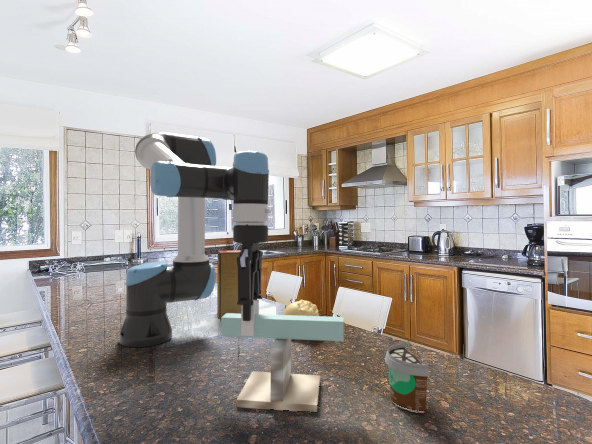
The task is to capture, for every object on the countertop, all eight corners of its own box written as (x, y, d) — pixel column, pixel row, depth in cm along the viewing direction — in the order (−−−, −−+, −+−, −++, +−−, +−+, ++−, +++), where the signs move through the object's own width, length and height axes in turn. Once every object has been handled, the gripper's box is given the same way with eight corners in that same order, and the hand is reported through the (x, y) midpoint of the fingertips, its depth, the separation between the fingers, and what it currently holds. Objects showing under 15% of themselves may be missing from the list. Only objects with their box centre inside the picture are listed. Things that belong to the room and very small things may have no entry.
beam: (221, 336, 75) (221, 317, 75) (226, 330, 78) (226, 313, 78) (343, 341, 72) (343, 321, 72) (343, 335, 75) (343, 317, 75)
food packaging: (249, 310, 144) (249, 249, 143) (254, 316, 135) (254, 251, 134) (216, 312, 139) (216, 250, 139) (218, 319, 130) (219, 252, 130)
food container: (376, 387, 78) (377, 343, 78) (403, 387, 79) (403, 342, 78) (397, 419, 66) (397, 366, 66) (428, 418, 66) (429, 365, 66)
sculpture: (316, 339, 109) (316, 305, 109) (279, 336, 111) (279, 303, 111) (321, 328, 120) (321, 297, 120) (287, 326, 123) (287, 295, 123)
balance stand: (236, 407, 70) (237, 347, 69) (252, 377, 82) (252, 327, 82) (316, 412, 68) (317, 351, 68) (320, 381, 81) (320, 330, 81)
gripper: (259, 224, 67) (258, 346, 67) (274, 223, 83) (274, 321, 83) (221, 224, 68) (220, 344, 68) (244, 223, 84) (243, 320, 84)
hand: (250, 331), depth 76 cm, fingers closed on beam, 3 cm apart
